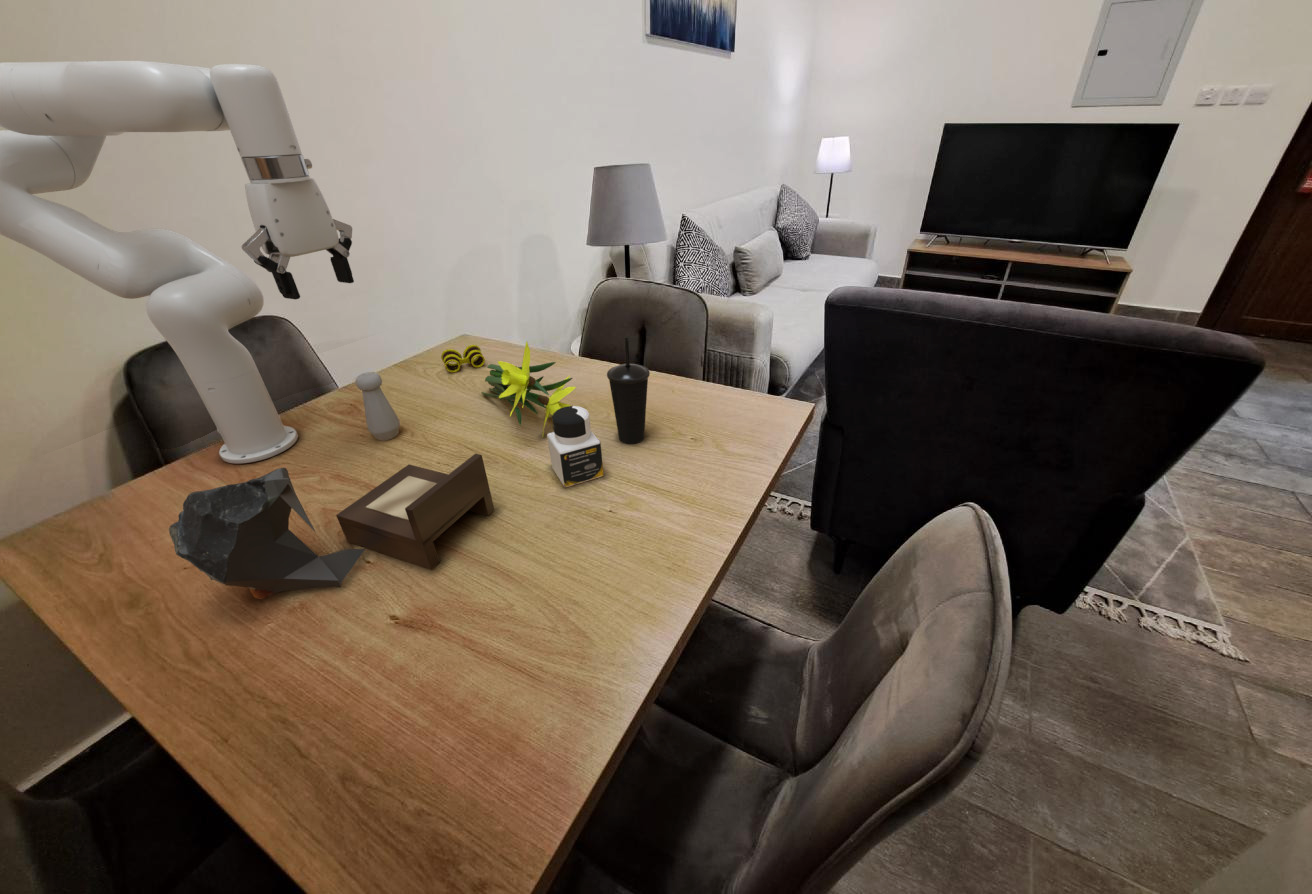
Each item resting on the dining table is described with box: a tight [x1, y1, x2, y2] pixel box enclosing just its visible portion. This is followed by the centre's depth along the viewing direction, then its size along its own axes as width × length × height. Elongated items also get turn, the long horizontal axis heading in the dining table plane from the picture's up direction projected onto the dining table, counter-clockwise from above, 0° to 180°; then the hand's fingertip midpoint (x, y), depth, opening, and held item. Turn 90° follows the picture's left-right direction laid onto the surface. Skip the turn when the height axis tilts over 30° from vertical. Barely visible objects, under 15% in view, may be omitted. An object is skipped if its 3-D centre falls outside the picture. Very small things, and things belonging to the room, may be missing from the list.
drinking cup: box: [606, 337, 651, 445], centre depth 96 cm, size 8×8×20 cm
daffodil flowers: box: [480, 340, 577, 438], centre depth 106 cm, size 17×15×35 cm
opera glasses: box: [440, 344, 486, 373], centre depth 132 cm, size 10×5×5 cm, turn 118°
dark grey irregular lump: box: [168, 467, 367, 600], centre depth 67 cm, size 14×15×18 cm
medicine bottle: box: [546, 405, 604, 488], centre depth 89 cm, size 7×7×12 cm
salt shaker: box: [355, 371, 401, 442], centre depth 101 cm, size 6×6×13 cm
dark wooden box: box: [335, 453, 496, 571], centre depth 78 cm, size 16×14×10 cm
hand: (320, 289), depth 85 cm, fingers open, 9 cm apart
